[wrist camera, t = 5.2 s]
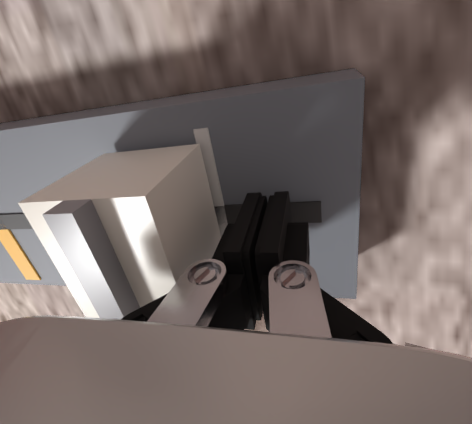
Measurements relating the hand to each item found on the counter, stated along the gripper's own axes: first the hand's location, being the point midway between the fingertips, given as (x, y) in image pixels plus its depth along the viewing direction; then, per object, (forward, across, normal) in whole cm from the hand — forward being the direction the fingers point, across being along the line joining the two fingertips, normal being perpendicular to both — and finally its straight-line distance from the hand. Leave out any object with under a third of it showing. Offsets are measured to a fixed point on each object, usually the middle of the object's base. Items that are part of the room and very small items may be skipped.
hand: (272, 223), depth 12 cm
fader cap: (0, +5, 0) cm, 5 cm away
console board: (+4, +10, 0) cm, 10 cm away
